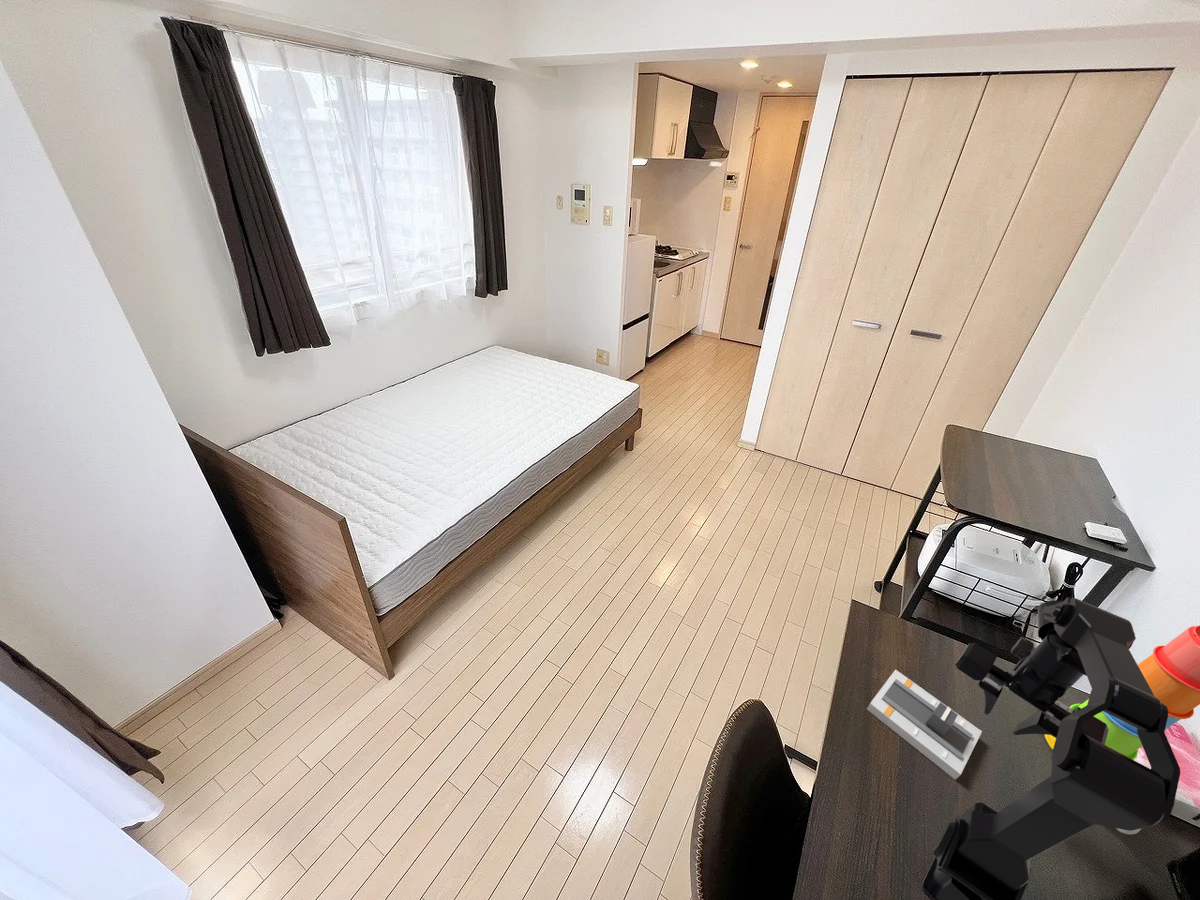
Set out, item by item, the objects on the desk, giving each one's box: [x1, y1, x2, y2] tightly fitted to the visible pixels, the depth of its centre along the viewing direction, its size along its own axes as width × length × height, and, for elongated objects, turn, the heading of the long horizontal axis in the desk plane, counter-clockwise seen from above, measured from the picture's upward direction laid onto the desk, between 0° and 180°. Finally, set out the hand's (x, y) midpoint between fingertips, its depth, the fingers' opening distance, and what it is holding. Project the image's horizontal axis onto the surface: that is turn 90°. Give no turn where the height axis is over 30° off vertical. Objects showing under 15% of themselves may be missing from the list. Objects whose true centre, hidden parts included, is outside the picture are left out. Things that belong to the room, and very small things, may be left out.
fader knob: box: [926, 701, 959, 737], centre depth 90 cm, size 4×3×4 cm
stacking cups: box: [1043, 625, 1200, 760], centre depth 82 cm, size 10×10×35 cm
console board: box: [866, 669, 983, 781], centre depth 93 cm, size 12×16×2 cm
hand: (1000, 722), depth 82 cm, fingers open, 4 cm apart
